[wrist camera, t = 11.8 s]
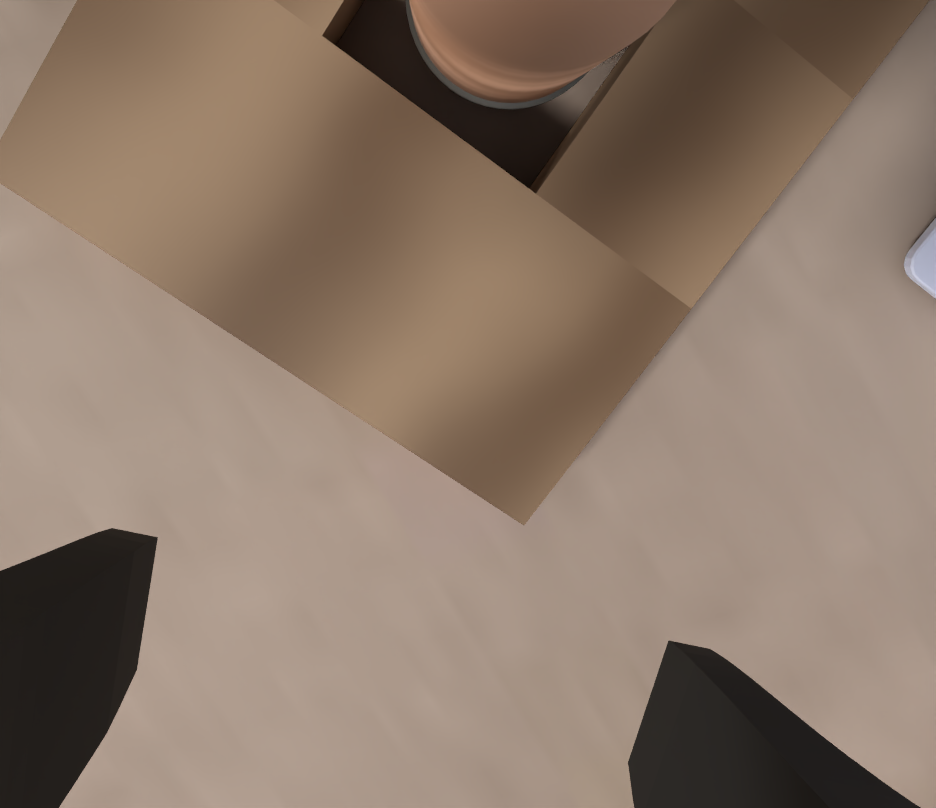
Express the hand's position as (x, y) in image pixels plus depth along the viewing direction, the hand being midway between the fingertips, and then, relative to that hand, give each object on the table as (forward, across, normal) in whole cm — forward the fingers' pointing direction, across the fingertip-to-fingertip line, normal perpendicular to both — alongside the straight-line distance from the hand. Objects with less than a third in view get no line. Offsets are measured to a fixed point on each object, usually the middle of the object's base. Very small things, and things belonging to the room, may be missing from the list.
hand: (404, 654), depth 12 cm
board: (+10, 0, -10) cm, 14 cm away
